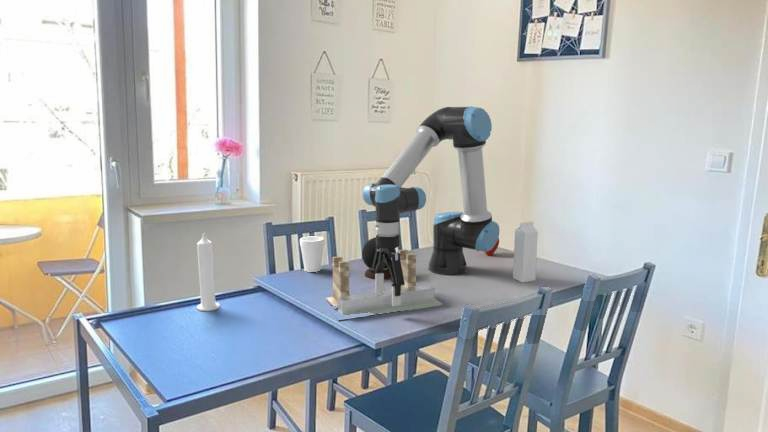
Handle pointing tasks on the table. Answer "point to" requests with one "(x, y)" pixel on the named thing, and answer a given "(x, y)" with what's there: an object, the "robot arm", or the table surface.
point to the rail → (385, 300)
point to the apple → (493, 248)
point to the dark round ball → (372, 259)
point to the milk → (525, 252)
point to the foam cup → (312, 252)
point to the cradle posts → (343, 275)
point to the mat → (411, 307)
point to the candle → (206, 275)
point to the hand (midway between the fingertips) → (387, 298)
